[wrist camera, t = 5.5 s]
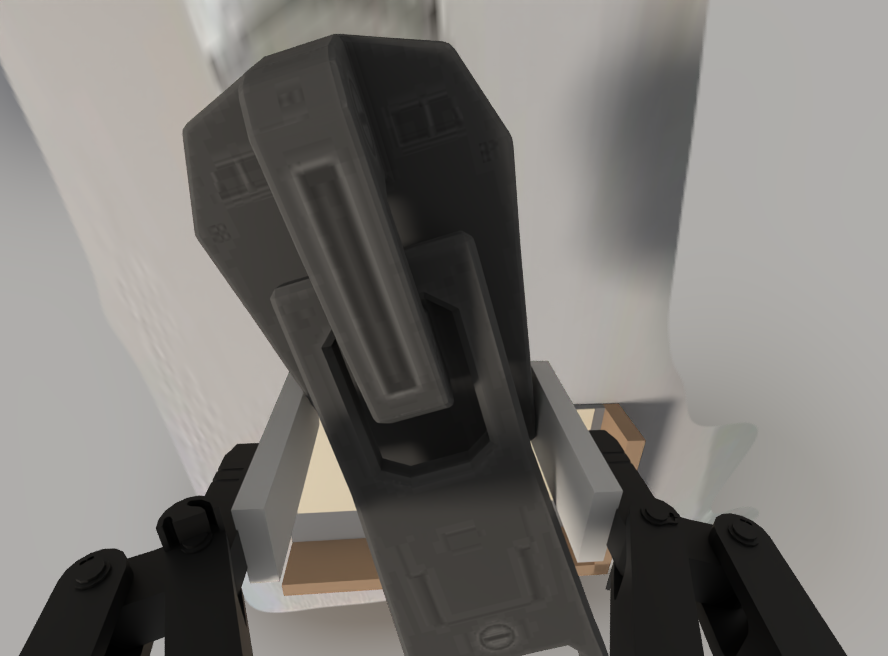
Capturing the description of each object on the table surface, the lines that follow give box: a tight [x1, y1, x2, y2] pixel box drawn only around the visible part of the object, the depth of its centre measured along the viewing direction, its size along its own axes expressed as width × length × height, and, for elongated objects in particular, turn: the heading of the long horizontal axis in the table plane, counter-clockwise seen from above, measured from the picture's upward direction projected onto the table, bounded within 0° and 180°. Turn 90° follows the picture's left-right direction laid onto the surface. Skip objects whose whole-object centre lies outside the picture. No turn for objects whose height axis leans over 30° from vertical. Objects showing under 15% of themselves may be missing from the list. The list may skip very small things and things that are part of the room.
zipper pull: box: [183, 34, 608, 656], centre depth 15 cm, size 9×7×25 cm
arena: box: [282, 404, 646, 596], centre depth 40 cm, size 16×30×5 cm, turn 89°
